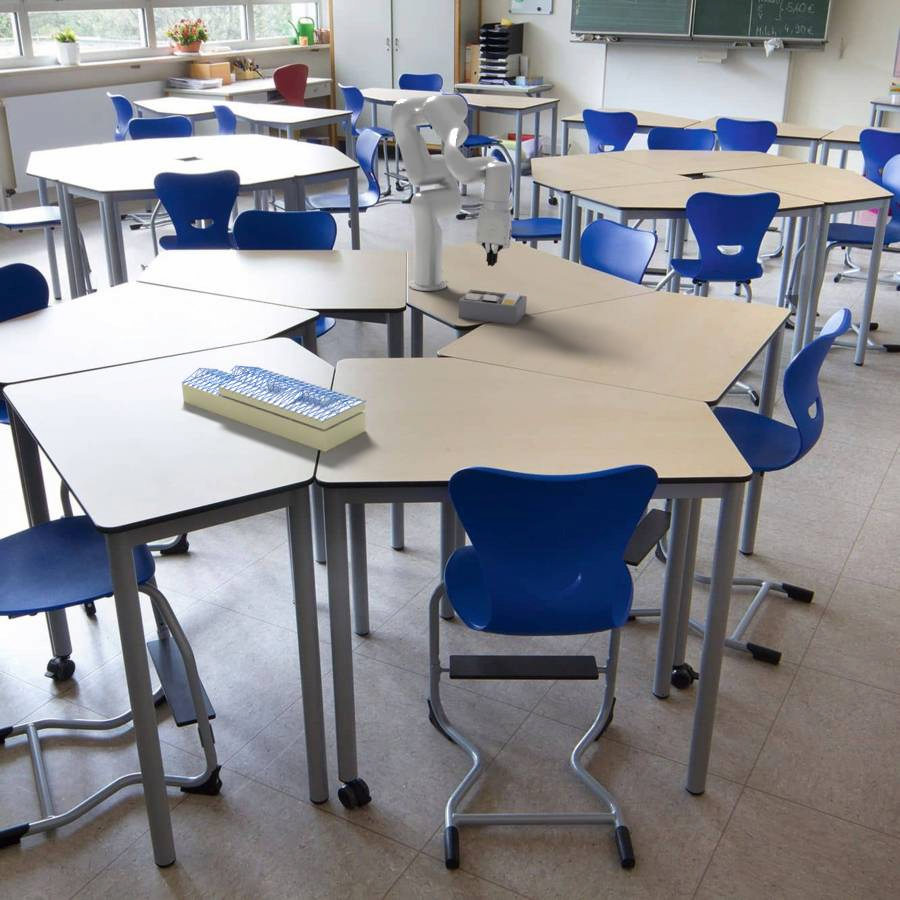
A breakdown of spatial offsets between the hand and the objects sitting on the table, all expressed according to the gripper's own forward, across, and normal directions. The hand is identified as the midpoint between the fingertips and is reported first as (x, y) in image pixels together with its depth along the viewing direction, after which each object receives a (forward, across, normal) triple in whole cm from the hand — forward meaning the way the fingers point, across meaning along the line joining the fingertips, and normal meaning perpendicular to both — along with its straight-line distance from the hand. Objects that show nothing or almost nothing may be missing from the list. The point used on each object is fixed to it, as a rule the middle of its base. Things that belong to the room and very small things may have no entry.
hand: (491, 264), depth 300 cm
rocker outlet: (+9, +8, -6) cm, 14 cm away
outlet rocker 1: (+9, -2, -6) cm, 11 cm away
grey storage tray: (+14, +3, -6) cm, 16 cm away
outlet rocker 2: (+9, +3, -6) cm, 11 cm away
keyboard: (+13, -22, -99) cm, 102 cm away
